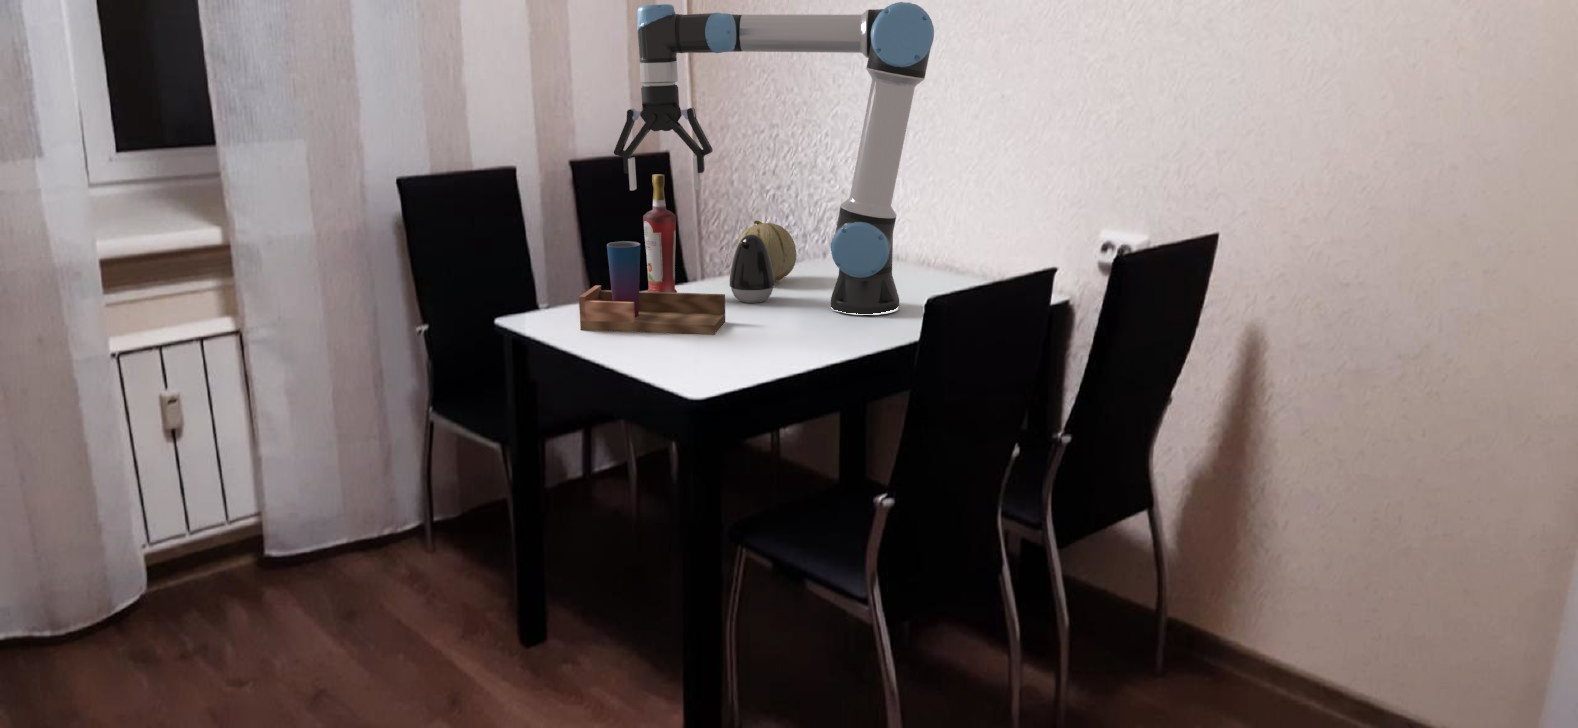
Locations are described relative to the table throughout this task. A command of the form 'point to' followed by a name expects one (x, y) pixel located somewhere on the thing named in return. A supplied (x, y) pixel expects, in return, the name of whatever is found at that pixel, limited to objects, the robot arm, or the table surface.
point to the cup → (625, 272)
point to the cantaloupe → (776, 246)
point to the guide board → (653, 312)
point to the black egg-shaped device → (752, 271)
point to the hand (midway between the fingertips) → (665, 189)
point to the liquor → (660, 241)
